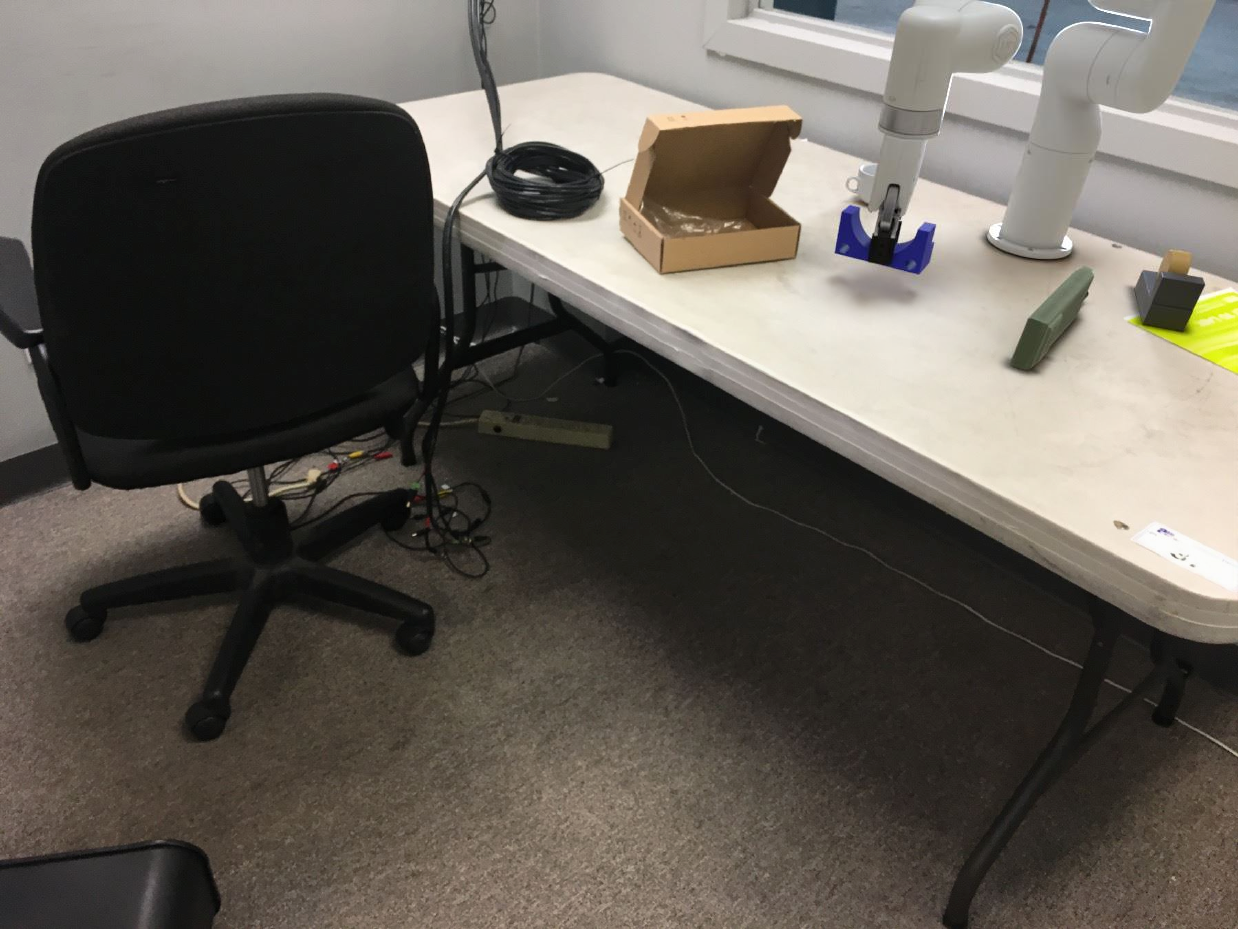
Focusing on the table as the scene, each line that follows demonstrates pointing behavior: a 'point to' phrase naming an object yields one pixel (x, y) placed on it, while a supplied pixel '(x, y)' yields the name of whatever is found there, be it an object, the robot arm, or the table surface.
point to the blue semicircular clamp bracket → (905, 255)
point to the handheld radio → (1052, 319)
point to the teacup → (864, 181)
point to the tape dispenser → (1169, 292)
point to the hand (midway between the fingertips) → (881, 253)
